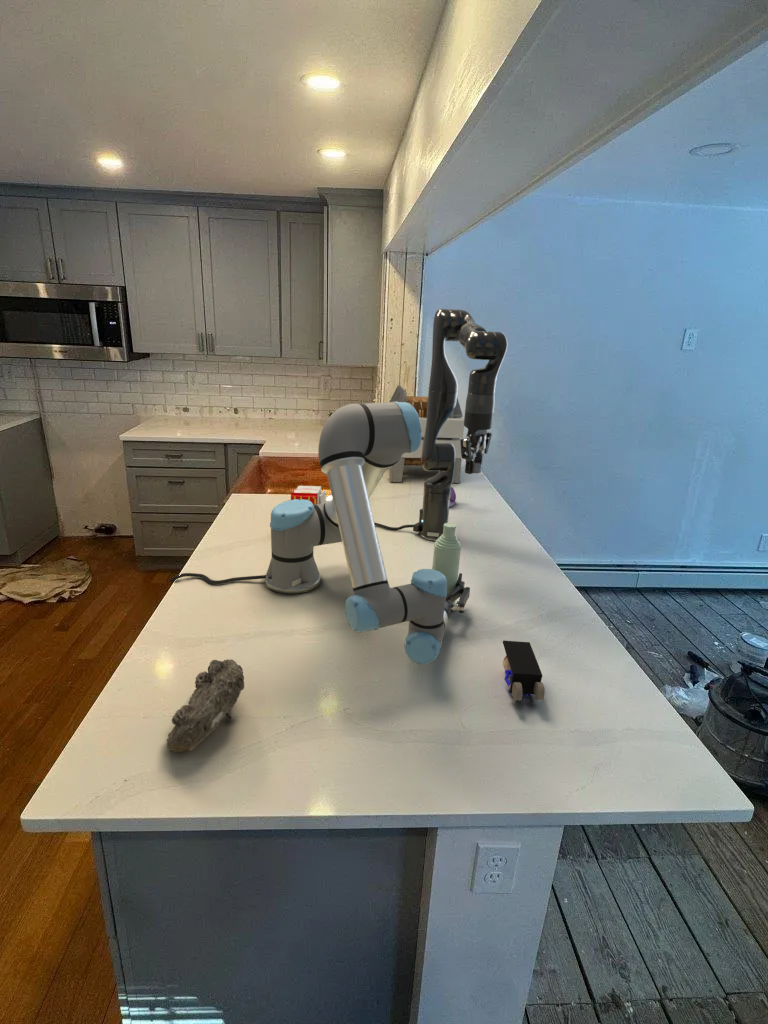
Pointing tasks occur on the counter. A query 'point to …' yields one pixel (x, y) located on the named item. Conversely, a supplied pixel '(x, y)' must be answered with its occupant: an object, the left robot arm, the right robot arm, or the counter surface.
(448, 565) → the bottle
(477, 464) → the cap
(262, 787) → the counter surface
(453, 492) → the figurine
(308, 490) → the toy
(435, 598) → the left robot arm
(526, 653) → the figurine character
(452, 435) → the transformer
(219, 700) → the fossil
